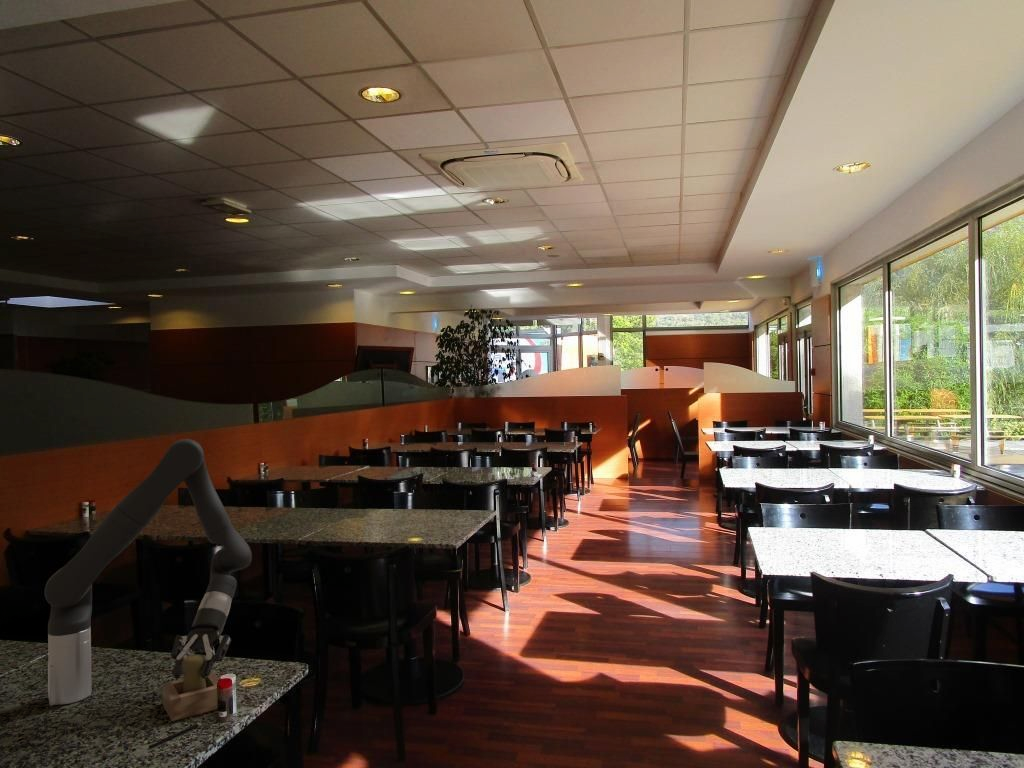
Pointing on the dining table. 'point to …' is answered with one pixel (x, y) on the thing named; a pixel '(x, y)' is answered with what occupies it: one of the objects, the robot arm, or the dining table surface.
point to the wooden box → (189, 698)
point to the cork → (193, 673)
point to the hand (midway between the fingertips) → (189, 677)
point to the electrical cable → (174, 736)
